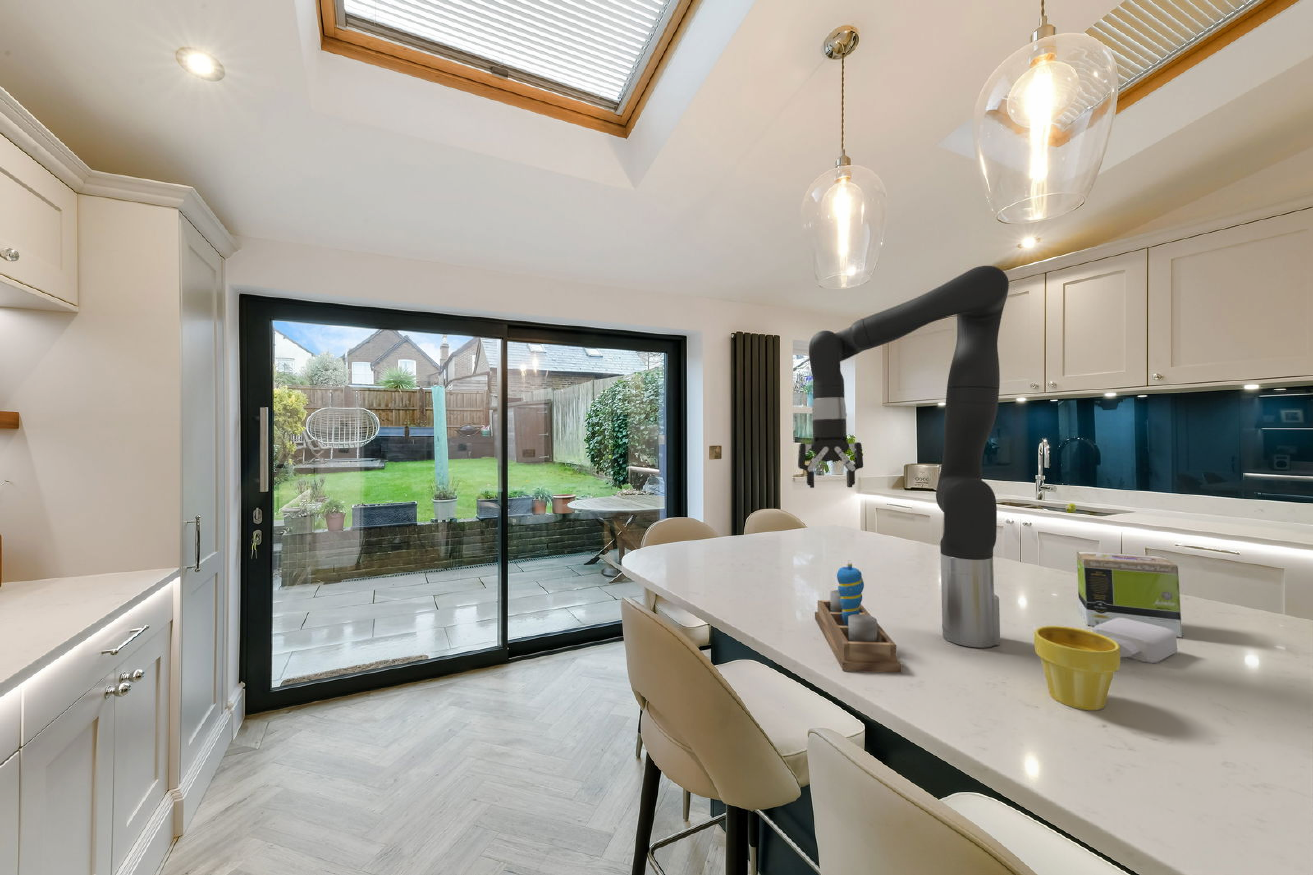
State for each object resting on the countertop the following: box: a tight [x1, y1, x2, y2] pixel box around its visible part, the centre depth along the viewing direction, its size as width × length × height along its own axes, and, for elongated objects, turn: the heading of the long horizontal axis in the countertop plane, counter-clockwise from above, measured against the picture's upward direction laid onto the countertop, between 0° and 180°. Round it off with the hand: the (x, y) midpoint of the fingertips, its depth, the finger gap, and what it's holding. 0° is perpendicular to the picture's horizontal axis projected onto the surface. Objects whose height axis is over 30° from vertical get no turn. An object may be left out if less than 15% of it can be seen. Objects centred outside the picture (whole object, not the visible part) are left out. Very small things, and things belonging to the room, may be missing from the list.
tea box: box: [1076, 550, 1183, 638], centre depth 110 cm, size 15×10×15 cm, turn 58°
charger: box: [1092, 618, 1178, 665], centre depth 96 cm, size 5×9×15 cm
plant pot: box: [1033, 625, 1121, 711], centre depth 80 cm, size 10×10×10 cm
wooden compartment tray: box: [814, 589, 903, 674], centre depth 104 cm, size 10×27×8 cm, turn 173°
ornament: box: [836, 560, 865, 626], centre depth 104 cm, size 5×5×15 cm
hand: (830, 487), depth 119 cm, fingers open, 8 cm apart
